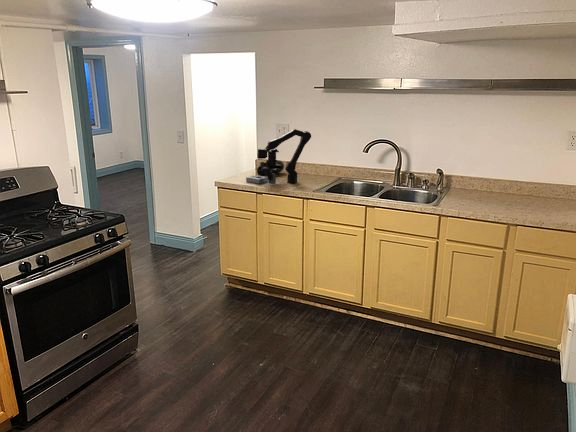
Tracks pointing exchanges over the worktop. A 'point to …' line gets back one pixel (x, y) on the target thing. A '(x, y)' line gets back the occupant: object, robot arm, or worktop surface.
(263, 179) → the outlet block
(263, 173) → the muzzle brake
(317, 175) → the worktop surface
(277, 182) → the mat
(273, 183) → the plug
